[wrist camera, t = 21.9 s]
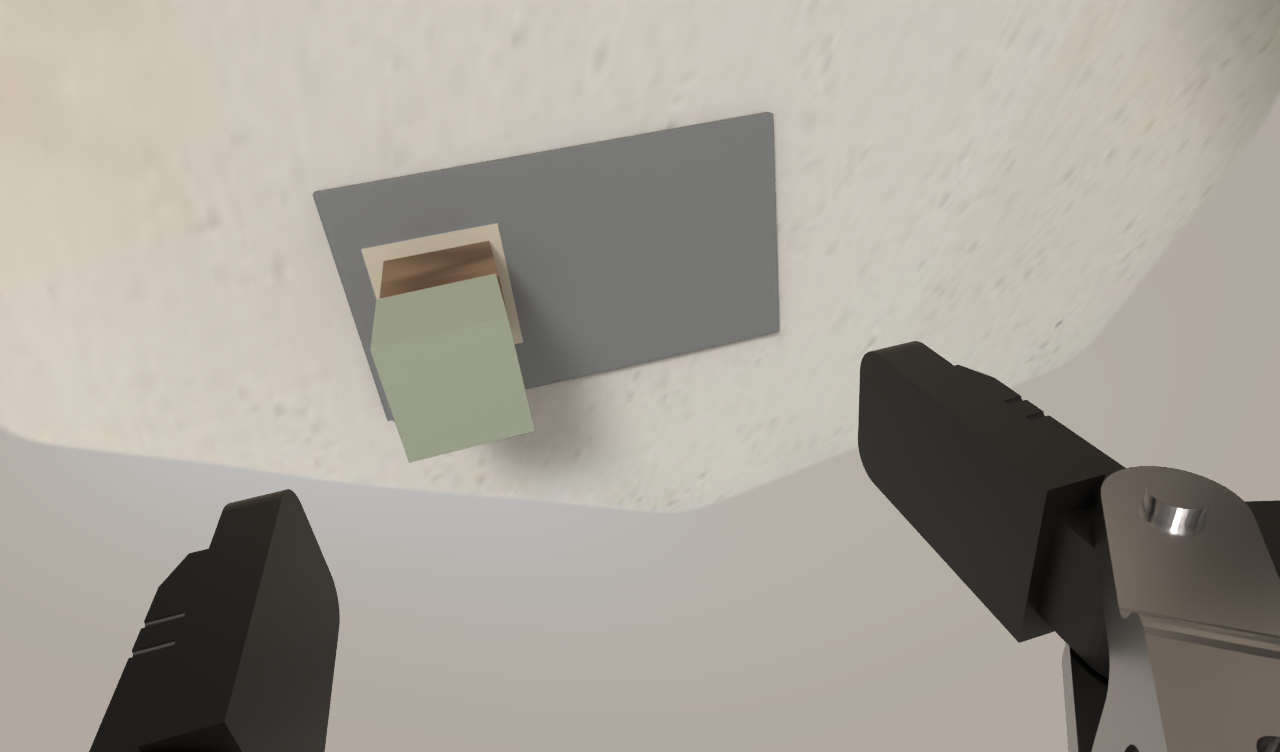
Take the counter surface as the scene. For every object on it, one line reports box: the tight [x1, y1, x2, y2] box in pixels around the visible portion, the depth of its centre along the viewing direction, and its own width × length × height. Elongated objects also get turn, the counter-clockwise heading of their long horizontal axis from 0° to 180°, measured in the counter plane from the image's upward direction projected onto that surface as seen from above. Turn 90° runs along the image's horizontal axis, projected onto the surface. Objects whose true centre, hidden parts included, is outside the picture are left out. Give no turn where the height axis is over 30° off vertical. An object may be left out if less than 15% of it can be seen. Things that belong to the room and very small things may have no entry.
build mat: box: [313, 112, 779, 421], centre depth 39 cm, size 22×12×1 cm, turn 97°
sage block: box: [370, 274, 535, 463], centre depth 31 cm, size 5×5×5 cm
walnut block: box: [379, 241, 512, 333], centre depth 35 cm, size 5×5×5 cm
